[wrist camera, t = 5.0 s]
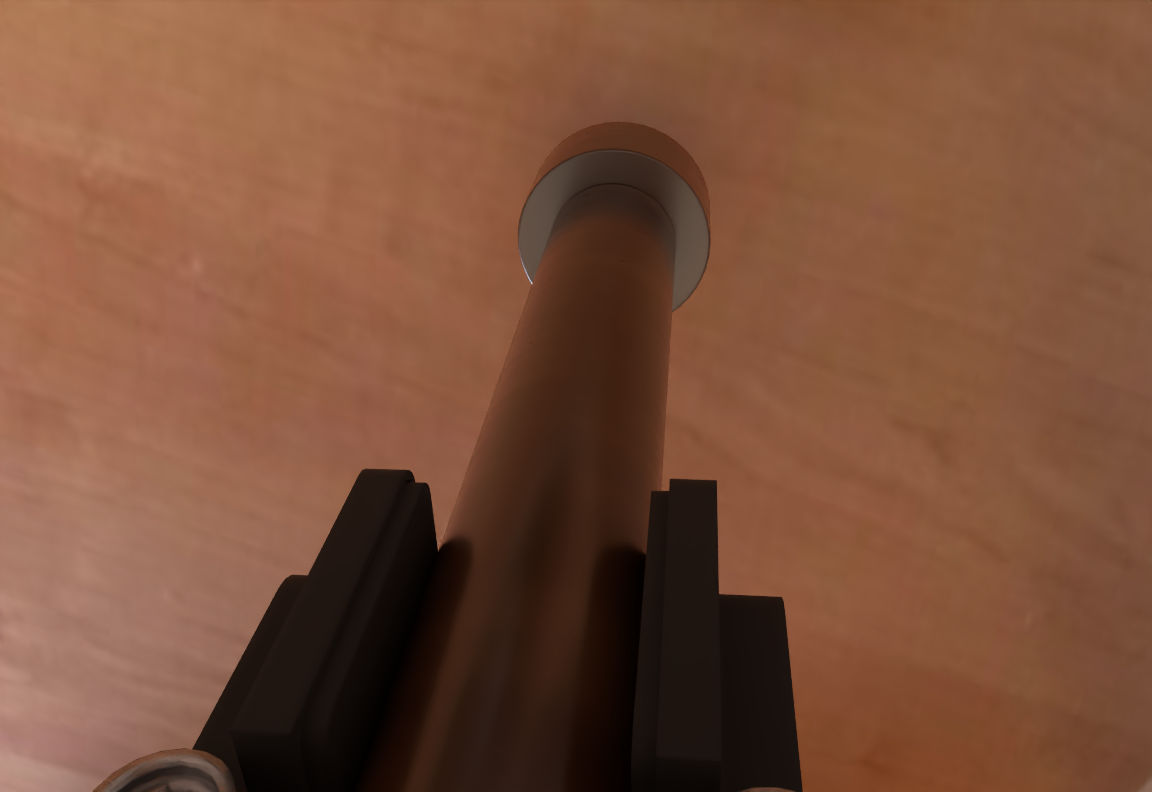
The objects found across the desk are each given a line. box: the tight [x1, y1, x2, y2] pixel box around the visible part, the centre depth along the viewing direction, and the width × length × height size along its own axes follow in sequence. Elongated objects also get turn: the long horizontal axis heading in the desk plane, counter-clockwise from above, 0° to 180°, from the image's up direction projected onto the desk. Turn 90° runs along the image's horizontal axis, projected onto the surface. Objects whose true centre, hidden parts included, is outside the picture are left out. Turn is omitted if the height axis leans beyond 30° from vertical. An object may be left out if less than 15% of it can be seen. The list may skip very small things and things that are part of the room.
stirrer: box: [354, 122, 710, 792], centre depth 15 cm, size 4×4×18 cm
